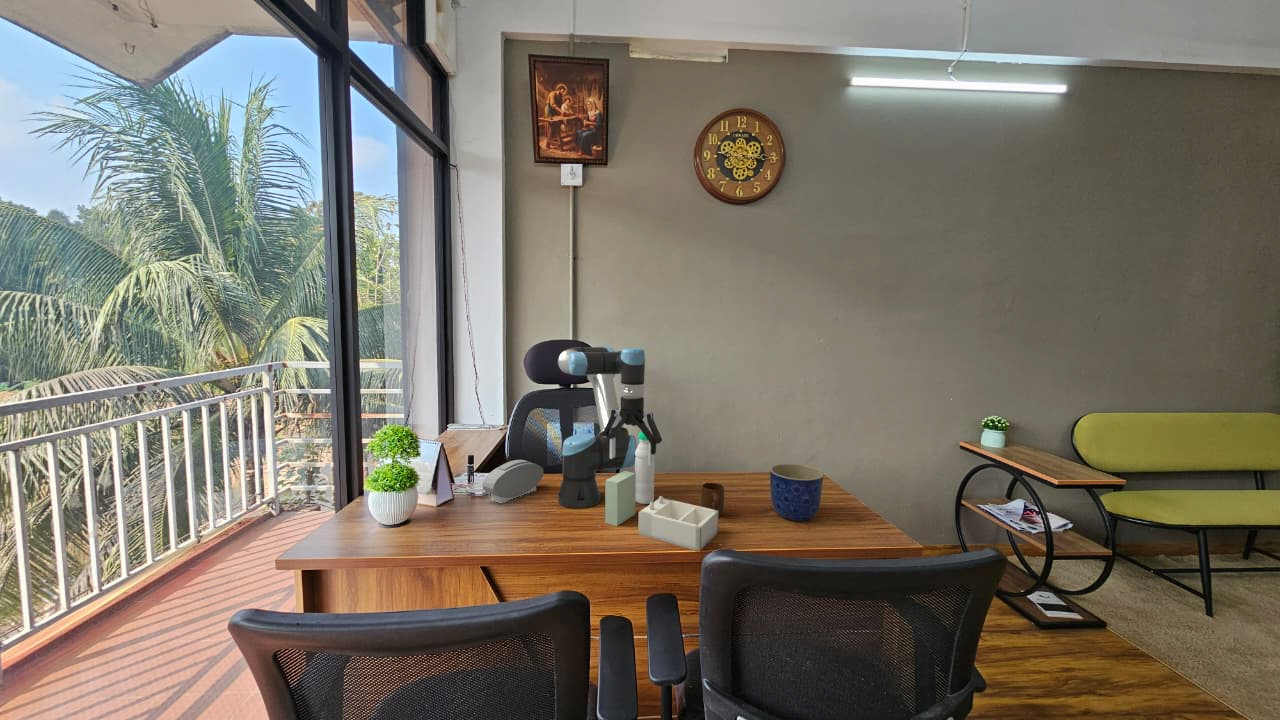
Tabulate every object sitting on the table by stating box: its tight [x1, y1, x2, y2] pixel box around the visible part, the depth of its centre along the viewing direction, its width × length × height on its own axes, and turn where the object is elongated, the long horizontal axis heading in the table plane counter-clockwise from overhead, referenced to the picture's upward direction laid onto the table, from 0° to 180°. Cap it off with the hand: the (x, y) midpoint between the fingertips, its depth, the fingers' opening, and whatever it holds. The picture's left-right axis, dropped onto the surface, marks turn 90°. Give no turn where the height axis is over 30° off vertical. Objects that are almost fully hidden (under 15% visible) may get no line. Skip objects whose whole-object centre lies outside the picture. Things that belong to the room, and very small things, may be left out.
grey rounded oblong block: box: [482, 459, 545, 503], centre depth 173 cm, size 23×6×13 cm, turn 144°
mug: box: [700, 482, 725, 518], centre depth 157 cm, size 12×8×9 cm, turn 0°
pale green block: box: [604, 470, 636, 527], centre depth 154 cm, size 4×11×14 cm, turn 149°
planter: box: [769, 463, 825, 522], centre depth 157 cm, size 17×17×15 cm
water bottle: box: [634, 431, 656, 505], centre depth 168 cm, size 7×7×25 cm
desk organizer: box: [637, 495, 719, 552], centre depth 143 cm, size 20×14×9 cm
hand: (631, 460), depth 154 cm, fingers open, 13 cm apart
